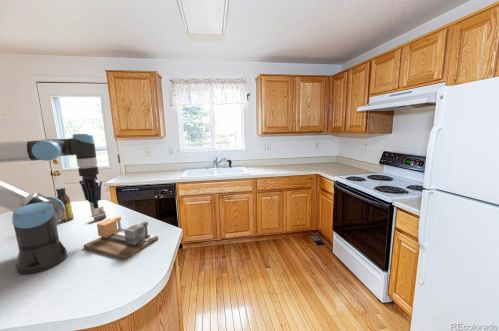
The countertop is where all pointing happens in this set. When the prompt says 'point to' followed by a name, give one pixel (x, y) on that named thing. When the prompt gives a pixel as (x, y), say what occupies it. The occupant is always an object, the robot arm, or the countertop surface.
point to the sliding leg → (108, 227)
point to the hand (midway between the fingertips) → (95, 214)
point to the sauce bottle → (65, 204)
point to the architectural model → (100, 215)
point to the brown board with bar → (123, 242)
